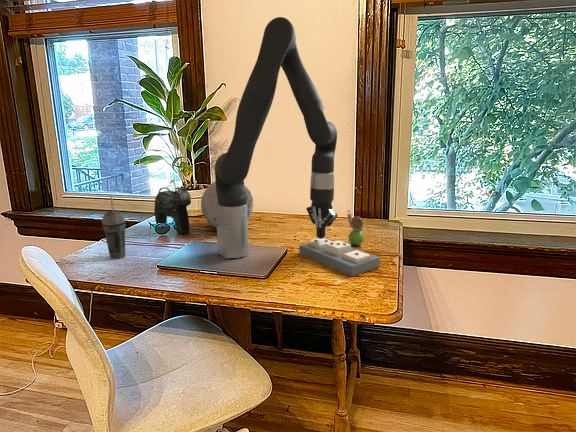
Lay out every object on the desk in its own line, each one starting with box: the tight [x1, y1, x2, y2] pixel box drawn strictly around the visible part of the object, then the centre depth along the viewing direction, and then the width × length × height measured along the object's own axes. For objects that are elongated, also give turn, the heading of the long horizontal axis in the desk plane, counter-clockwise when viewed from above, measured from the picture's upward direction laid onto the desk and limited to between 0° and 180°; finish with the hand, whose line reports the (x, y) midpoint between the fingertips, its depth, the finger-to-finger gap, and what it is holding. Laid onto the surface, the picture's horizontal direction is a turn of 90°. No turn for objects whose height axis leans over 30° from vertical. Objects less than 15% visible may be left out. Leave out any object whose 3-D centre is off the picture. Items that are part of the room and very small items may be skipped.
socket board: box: [298, 237, 381, 277], centre depth 140 cm, size 12×24×3 cm, turn 38°
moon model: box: [200, 181, 254, 229], centre depth 170 cm, size 20×20×20 cm
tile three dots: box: [326, 239, 352, 256], centre depth 139 cm, size 6×6×3 cm
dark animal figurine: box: [153, 180, 192, 236], centre depth 169 cm, size 20×6×20 cm, turn 48°
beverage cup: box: [101, 195, 127, 260], centre depth 141 cm, size 7×7×20 cm
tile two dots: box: [308, 237, 334, 249], centre depth 145 cm, size 6×6×3 cm
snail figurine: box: [347, 209, 365, 246], centre depth 153 cm, size 5×6×12 cm
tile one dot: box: [344, 249, 370, 264], centre depth 133 cm, size 6×6×3 cm
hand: (320, 237), depth 144 cm, fingers closed
